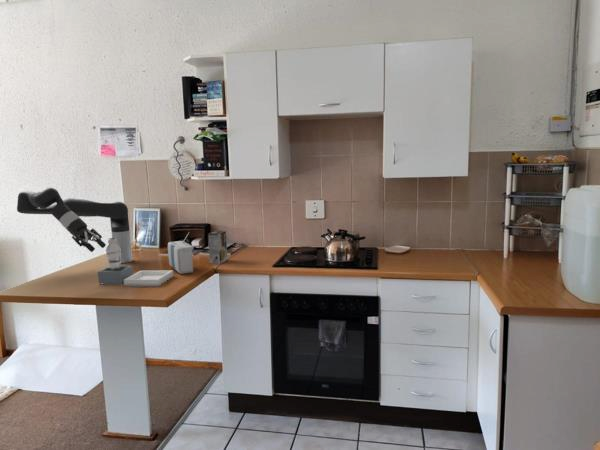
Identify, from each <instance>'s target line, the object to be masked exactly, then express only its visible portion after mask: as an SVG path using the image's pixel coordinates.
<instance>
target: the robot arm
mask: <svg viewBox="0 0 600 450" xmlns="http://www.w3.org/2000/svg"><path fill="white" fill-rule="evenodd" d="M16 211H17V212H18V213H19V214H25V215H27V214H28V215H52V216H53V217H54V218H55V219H56V220H57V221H58V222H59V223H60V224H61V225H62V227H63V228H64V229H66V231H67V232H68V233H70V234H71V239H73V240H74V242H75V243H76V244H77V245H78V246H79V247H84V248H86V249H87V250H88V251H90V252H91V253H93V252H94V251H95V249H96V248H95V247H94V246H93V245H92V244H91V242H89V241H92V242H95V243H97V245H98V246H99V247H100V248H102V249H104V248H105V247H107V244H106V243H105V242H104V241H103V240H102V238H103V236H102V235H101V234H100V233H99V232H98V231H97V230H95V229H94V228H91V229H88V225H87V223H86V222H85V221H84V220H83V219H82V218H81V217H88V218H89V217H101V218H108V219H110V230H111V238H117V244H118V245H119V247H120V248H121V264H125V263H130V262H132V261H133V255H132V254H133V253H132V252H133V251H132V240H131V232H130V220H129V209H128V206H127V205H126V204H125V203H124V202H123V201H115V202H99V201H93V200H89V199H83V198H82V199H81V198H71V197H69V198H65V199H62V196H61V195H60V193H59V192H58V190H57V189H56V188H54V187H52V186H51V187H47V188H46V189H44V190H42V191H21V192H19V193H18V196H17V206H16Z"/></svg>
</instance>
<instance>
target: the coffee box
mask: <svg viewBox="0 0 600 450" xmlns="http://www.w3.org/2000/svg"><path fill="white" fill-rule="evenodd" d="M207 240H208V241H207V243H208V256H209V257H208V258H209V264H215V265H218V264H220V265H221V264H222V263H225V262H226V261H228V249H227V248H228V247H227V233H226V230H225V231H224V230H214V231H212V232H209V233H207Z"/></svg>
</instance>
